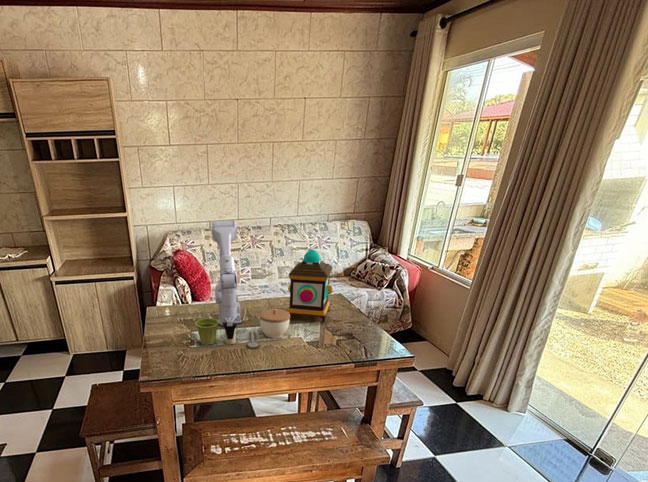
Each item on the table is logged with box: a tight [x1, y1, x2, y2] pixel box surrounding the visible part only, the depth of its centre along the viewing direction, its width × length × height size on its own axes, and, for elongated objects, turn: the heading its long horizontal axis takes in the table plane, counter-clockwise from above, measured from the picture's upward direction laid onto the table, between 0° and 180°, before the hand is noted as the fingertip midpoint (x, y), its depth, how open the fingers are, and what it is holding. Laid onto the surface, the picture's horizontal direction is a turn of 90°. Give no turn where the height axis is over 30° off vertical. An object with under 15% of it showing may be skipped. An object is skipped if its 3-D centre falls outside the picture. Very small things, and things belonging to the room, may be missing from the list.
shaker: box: [224, 320, 237, 345], centre depth 165 cm, size 5×5×9 cm
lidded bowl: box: [259, 308, 291, 339], centre depth 169 cm, size 13×13×11 cm
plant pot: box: [194, 317, 219, 346], centre depth 165 cm, size 9×9×9 cm
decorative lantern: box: [286, 248, 334, 324], centre depth 183 cm, size 20×20×30 cm
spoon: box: [247, 331, 260, 349], centre depth 167 cm, size 15×4×1 cm, turn 179°
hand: (230, 335), depth 166 cm, fingers open, 5 cm apart
